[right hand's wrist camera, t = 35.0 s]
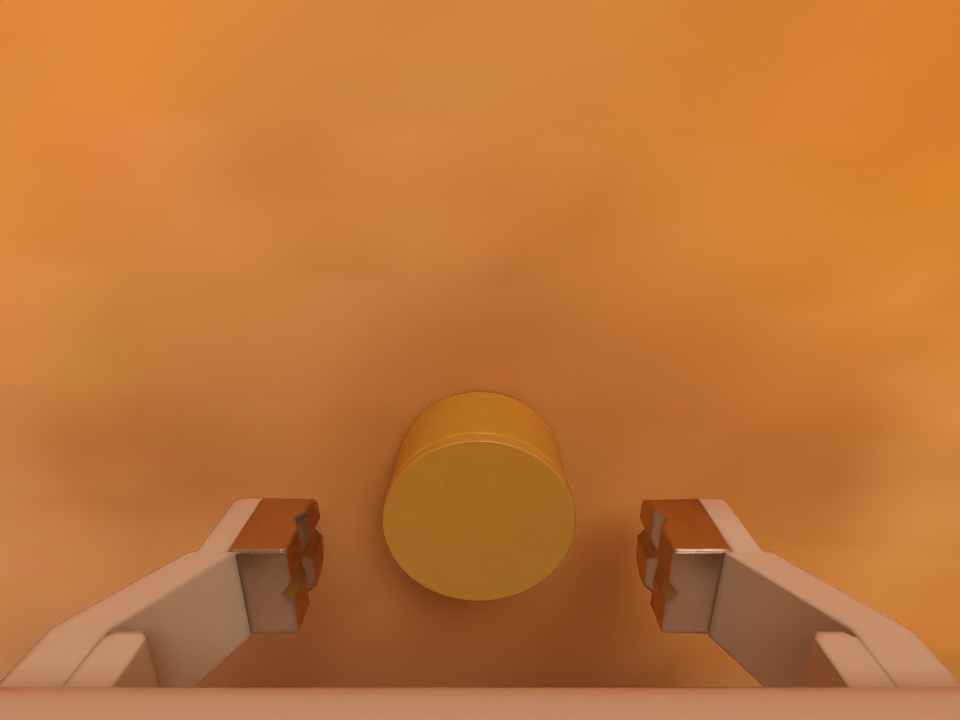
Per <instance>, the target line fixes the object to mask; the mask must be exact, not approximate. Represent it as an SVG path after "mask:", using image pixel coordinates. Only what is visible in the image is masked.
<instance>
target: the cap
mask: <svg viewBox="0 0 960 720" xmlns="http://www.w3.org/2000/svg"><path fill="white" fill-rule="evenodd" d="M575 525H576V518H575V508H574V503H573V499H572V496H571V492H570V488H569V485H568V481H567V477H566V474H565V470H564V467H563V463H562V459H561V456H560V452H559V448H558V445H557V442H556V439H555V437H554V435H553V433H552V431H551V429H550V428H549V426H548V425H547V424H546V422H545V421H544V420H543V419H542V418H541V417H540V416H539V415H538V414H537V413H536V412H535V411H534V410H532V409H531V408H530V407H528V406H527V405H525V404H524V403H522V402H520V401H518V400H515V399H513V398H511V397H508V396H504V395H502V394H498V393H490V392H468V393H462V394H457V395H454V396H451V397H447V398H445V399H442V400H441V401H438V402H436V403H435V404H433V405H431V406H430V407H428V408H427V409H426V410H424V411H423V412H422V413H421V414H420V415H419V416H418V417H417V418H416V419H415V420H414V421H413V422H412V424H411V425H410V427H409V428H408V430H407V431H406V433H405V435H404V437H403V440H402V443H401V446H400V449H399V453H398V457H397V460H396V464H395V467H394V471H393V474H392V478H391V481H390V485H389V489H388V492H387V496H386V499H385V503H384V507H383V514H382V527H383V532H384V537H385V540H386V543H387V546H388V549H389V551H390V552H391V554H392V556H393V558H394V559H395V561H396V562H397V564H398V565H399V566H400V567H401V568H402V569H403V571H404V572H405V573H406V574H407V575H409V576H410V577H411V578H412V579H413V580H415V581H416V582H418V583H419V584H421V585H422V586H424V587H425V588H428V589H430V590H432V591H434V592H436V593H439V594H441V595H444V596H447V597H451V598H455V599H461V600H468V601H488V600H497V599H503V598H507V597H510V596H514V595H517V594H519V593H522V592H524V591H527V590H529V589H530V588H532V587H534V586H536V585H538V584H539V583H540V582H542V581H543V580H545V579H546V578H547V577H548V576H549V575H550V574H552V573H553V572H554V571H555V570H556V568H557V567H558V566H559V565H560V564H561V562H562V561H563V559H564V558H565V556H566V555H567V552H568V550H569V548H570V546H571V544H572V540H573V537H574V532H575Z"/></svg>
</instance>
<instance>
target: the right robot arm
mask: <svg viewBox="0 0 960 720" xmlns="http://www.w3.org/2000/svg"><path fill="white" fill-rule="evenodd" d="M319 518H320V515H319V509H318V503H317V502H316V501H315V500H314V499H277V498H265V499H263V498H240V499H238V500H235V501H234V502H233V504H232V505H231V506H230V508H229V509H228V510H227V512H226V513H225V515H224V516H223V517H222V519H221V520H220V521H219V523H218V524H217V525H216V527H215V528H214V529H213V531H212V532H211V534H210V535H209V536H208V538H207V539H206V540H205V542H204V543H203V544H202V546H201V547H200V548H199V550H198V551H197V552H188V553H186V554H184V555H182V556H181V557H179V558H177V559H175V560H173V561H172V562H170V563H168V564H166V565H164V566H163V567H161V568H159V569H157V570H155V571H154V572H152V573H150V574H148V575H146V576H145V577H143V578H141V579H139V580H137V581H136V582H134V583H132V584H130V585H128V586H127V587H125V588H123V589H121V590H119V591H117V592H116V593H114V594H112V595H110V596H108V597H107V598H105V599H103V600H101V601H99V602H98V603H96V604H94V605H92V606H90V607H89V608H87V609H85V610H83V611H81V612H80V613H78V614H76V615H74V616H72V617H71V618H69V619H67V620H65V621H63V622H62V623H60V624H58V625H56V626H54V627H52V628H51V629H49V630H48V631H47V632H46V633H45V635H44V636H43V637H42V638H41V639H40V640H39V641H38V642H37V643H36V644H35V645H34V646H33V647H32V648H31V650H30V651H29V652H28V653H27V654H26V655H25V656H24V657H23V658H22V659H21V660H20V661H19V662H18V664H17V665H16V666H15V667H14V668H13V669H12V670H11V671H10V672H9V673H8V674H7V675H6V676H5V677H4V679H3V680H2V681H1V682H0V720H960V682H959V681H958V680H957V679H956V678H955V676H954V675H953V674H952V673H951V672H950V671H949V670H948V669H947V668H946V667H945V666H944V665H943V663H942V662H941V661H940V660H939V659H938V658H937V657H936V656H935V655H934V654H933V653H932V652H931V651H930V649H929V648H928V647H927V646H926V645H925V644H924V643H923V642H922V641H921V640H920V639H919V638H918V636H917V635H916V634H915V633H914V632H913V631H912V630H911V629H909V628H907V627H905V626H903V625H902V624H900V623H898V622H896V621H894V620H893V619H891V618H889V617H887V616H885V615H884V614H882V613H880V612H878V611H876V610H875V609H873V608H871V607H869V606H867V605H866V604H864V603H862V602H860V601H858V600H857V599H855V598H853V597H851V596H849V595H848V594H846V593H844V592H842V591H840V590H839V589H837V588H835V587H833V586H831V585H830V584H828V583H826V582H824V581H822V580H821V579H819V578H817V577H815V576H813V575H812V574H810V573H808V572H806V571H804V570H803V569H801V568H799V567H797V566H795V565H794V564H792V563H790V562H788V561H786V560H785V559H783V558H781V557H779V556H777V555H776V554H774V553H772V552H763V551H762V550H761V549H760V547H759V546H758V545H757V543H756V542H755V540H754V539H753V538H752V536H751V535H750V534H749V532H748V531H747V530H746V528H745V527H744V526H743V524H742V523H741V522H740V520H739V519H738V518H737V516H736V515H735V514H734V512H733V511H732V510H731V508H730V507H729V505H728V504H727V503H726V501H725V500H723V499H721V498H699V499H675V500H644V502H643V504H642V507H641V514H640V518H641V521H642V523H643V525H644V528H645V529H644V530H643V531H642V532H641V533H640V534H639V535H638V538H637V549H636V552H637V565H638V570H639V574H640V577H641V580H642V582H643V585H644V586H645V587H646V588H648V589H649V590H650V591H651V592H652V597H651V606H652V608H653V611H654V613H655V616H656V618H657V621H658V623H659V626H660V628H661V631H662V632H673V633H708V634H709V636H710V637H711V638H712V639H713V640H714V641H715V642H716V643H717V644H718V645H719V646H720V647H721V648H723V649H724V650H725V651H726V652H727V653H728V654H729V655H730V656H731V657H732V658H733V659H734V660H735V661H737V662H738V663H739V664H740V665H741V666H742V667H743V668H744V669H745V670H746V671H747V672H748V673H750V674H751V675H752V676H753V677H754V678H755V679H756V680H757V681H758V682H759V683H760V684H761V685H763V686H764V687H196V686H198V685H199V684H200V683H201V682H202V681H203V680H204V679H205V678H206V677H207V676H208V675H209V674H211V673H212V672H213V671H214V670H215V669H216V668H217V667H218V666H219V665H220V664H221V663H223V662H224V661H225V660H226V659H227V658H228V657H229V656H230V655H231V654H232V653H233V652H234V651H236V650H237V649H238V648H239V647H240V646H241V645H242V644H243V643H244V642H245V641H246V640H247V639H249V638H250V637H251V634H252V633H286V632H298V631H299V628H300V626H301V623H302V621H303V618H304V616H305V613H306V611H307V608H308V606H309V597H308V591H310V590H311V589H312V588H314V587H315V586H316V585H317V582H318V580H319V577H320V574H321V569H322V563H323V538H322V535H321V534H320V533H319V532H318V531H317V530H316V529H315V527H316V525H317V523H318V521H319Z"/></svg>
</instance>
